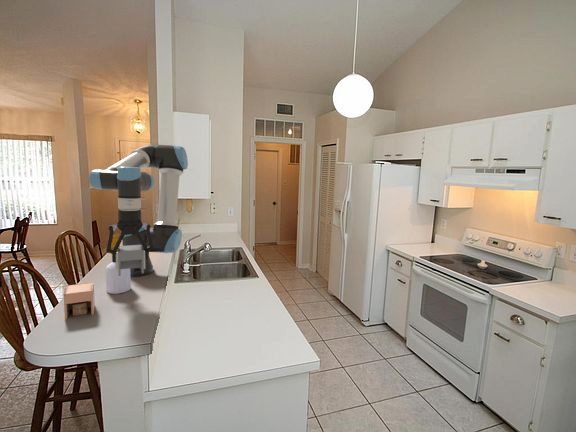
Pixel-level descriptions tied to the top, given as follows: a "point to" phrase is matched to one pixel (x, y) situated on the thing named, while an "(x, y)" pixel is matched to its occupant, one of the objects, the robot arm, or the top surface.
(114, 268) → the soap bottle
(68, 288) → the terracotta cover
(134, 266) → the slate cover
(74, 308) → the letter cube
